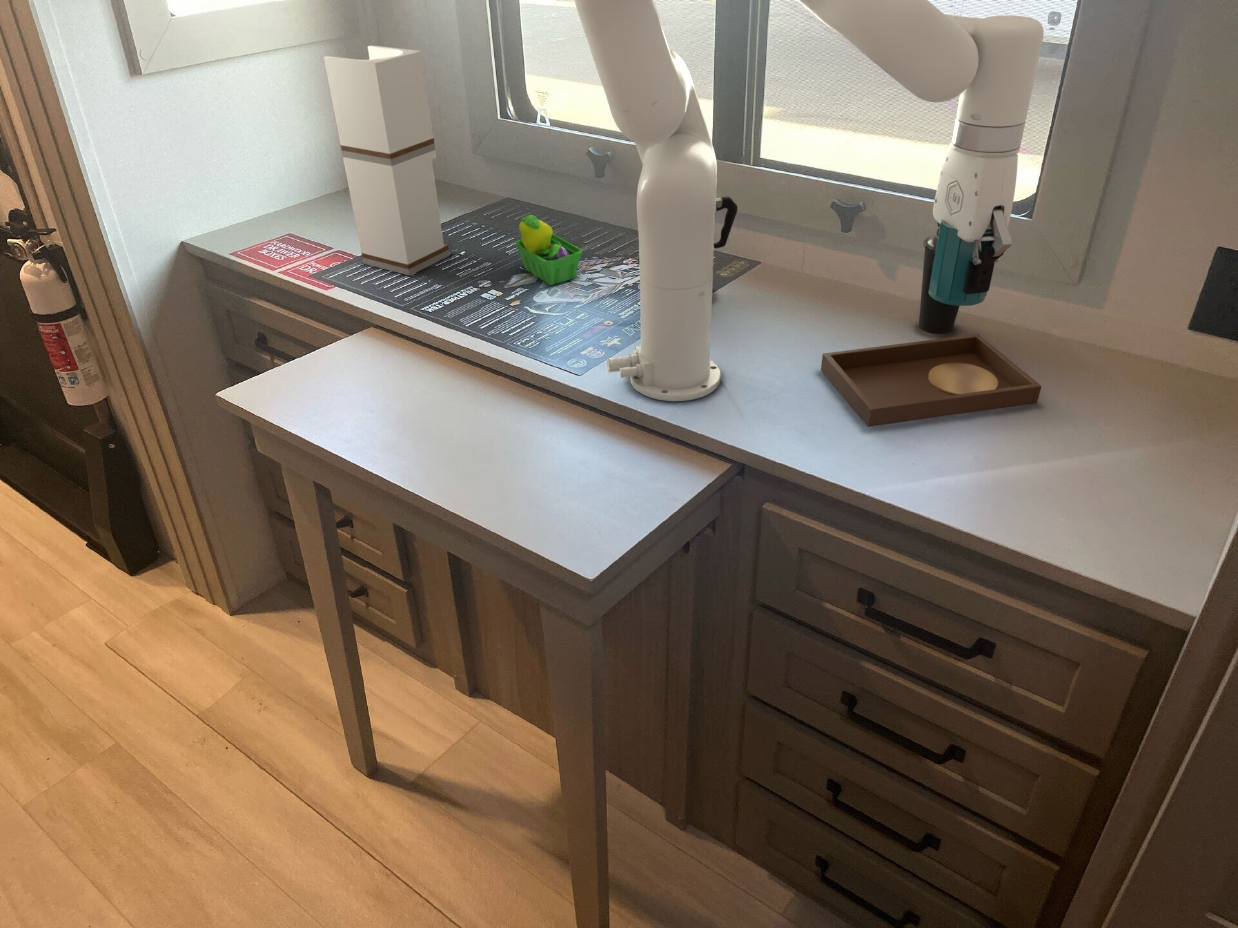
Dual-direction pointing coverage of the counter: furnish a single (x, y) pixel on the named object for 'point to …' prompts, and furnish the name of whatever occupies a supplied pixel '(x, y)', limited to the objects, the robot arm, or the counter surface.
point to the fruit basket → (546, 252)
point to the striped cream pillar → (388, 156)
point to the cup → (953, 268)
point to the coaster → (961, 378)
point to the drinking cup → (933, 312)
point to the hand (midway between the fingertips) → (959, 279)
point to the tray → (923, 379)
